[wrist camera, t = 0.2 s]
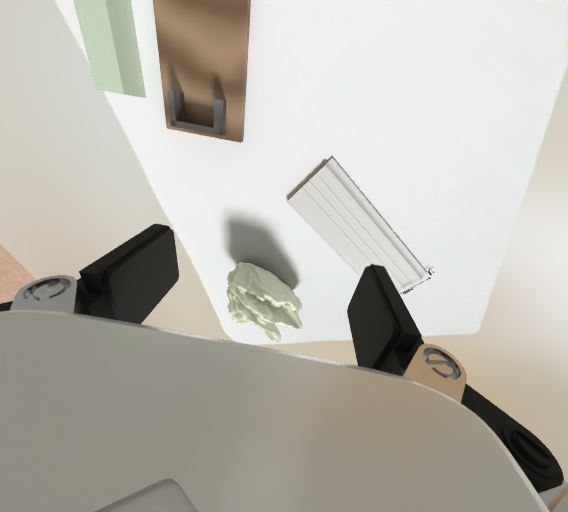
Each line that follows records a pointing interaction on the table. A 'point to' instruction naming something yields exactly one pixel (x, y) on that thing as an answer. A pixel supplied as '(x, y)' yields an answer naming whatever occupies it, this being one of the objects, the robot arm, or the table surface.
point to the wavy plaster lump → (262, 300)
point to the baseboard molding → (353, 226)
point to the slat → (111, 45)
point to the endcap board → (204, 64)
